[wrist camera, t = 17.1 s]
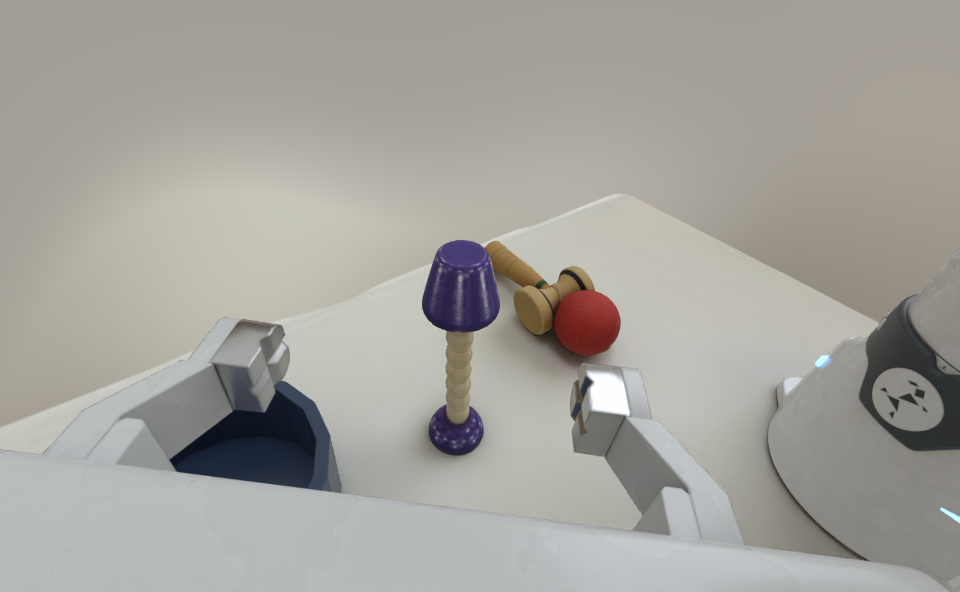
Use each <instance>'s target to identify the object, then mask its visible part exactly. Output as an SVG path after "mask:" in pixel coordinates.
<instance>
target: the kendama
mask: <svg viewBox="0 0 960 592" xmlns="http://www.w3.org/2000/svg"><path fill="white" fill-rule="evenodd" d="M485 249H486V250H487V252H488V254H489V256H490V259H491V263H492V267H493V269H494V270H496V271H498V272H499V273H501V274H503V275H504V276H506V277H507V278H509V279H511V280H512V281H514V282H515V283H517V284H519V285H520V286H522V287H523V288H521V289H519V290H518V291H516V292H515V295H514V305H515V309H516V312H517V314H518V316H519V318H520V320H521V321H522V323H523V324H524V325H525V327H526V328H527V329H528V330H529V331H531V332H532V333H534V334H536V335H540V334H543V333H545V332H547V331H549V330H550V329H551V328H552V326H554V329H555V333H556V335H557V338H558V339H559V341H560V342H561V343H562V345H563V346H564V347H566V348H567V349H568V350H570V351H572V352H574V353H576V354H579V355H584V356H591V355H596V354H599V353H602V352H605V351H607V350H608V349H609V348H610V346H611V345H612V344H613V343H614V342H615V340H616V338H617V336H618V334H619V330H620V323H621V321H620V316H619V312H618V310H617V308H616V306H615V305H614V303H613V302H612V301H611V300H610V299H609V298H608V297H606V296H605V295H603V294H601V293H599V292H596V291H595V288H594V285H593V282H592V281H591V279H590V277H589V276H588V275H587V273H586V272H585V271H584V270H582V269H581V268H579V267H576V266H571V267H568V268H566V269H564V270H562V272H561V273H560V276H559V279H558V281H557V283H554V284H552V285H551V286H550V285H549V284H548V283H547V282H546V281H545V280H544V279H543V278H542V277H541V276H539V275H538V274H537V273H536V272H535V271H534V270H533V269H532V268H531V267H529V266H528V265H527V264H526V263H525V262H523V261H522V260H521V259H519V258H518V257H517V256H516V255H514V254H513V253H512V252H511V251H509V250H508V249H507V248H506V247H505V246H504V245H502V244H501V243H500V242H497V241H494V242H491V243H489V244H488V245H487V246H486V247H485Z"/></svg>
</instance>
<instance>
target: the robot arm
mask: <svg viewBox="0 0 960 592" xmlns="http://www.w3.org/2000/svg"><path fill="white" fill-rule="evenodd" d="M878 325H879V326H878V327H877V328H876V329H875V330H874V331H873V332H872V333H871V334H870V336H869V337H858V338H853V337H850V338H847V339H845V340H843V341H842V342H841V343H840V344H839V345H838V346H837V347H836V348H834V349H833V350H832V351H831V352H830V353H829V354H828V355H827V356H821V357H820V358H819V360H818V361H817V362H816V363H815V364H816V365H817V366H816V367H815V368H814V369H813V370H812V371H811V372H810V373H809V374H808V375H807V376H805V377H804V378H785V379H784V380H783V381H782V382H781V383H780V384H779V385H778V386H777V400H778V405H779V406H778V409H777V412H776V413H775V415H774V417H773V418H772V420H771V422H770V425H769V429H768V445H769V450H770V454H771V457H772V460H773V462H774V465H775V467H776V469H777V471H778V473H779V475H780V477H781V479H782V480H783V482H784V483H785V485H786V486H787V488H788V489H789V491H790V492H791V494H792V495H793V496H794V497H795V499H796V500H797V501H798V502H799V504H800V505H801V506H802V507H803V508H804V509H805V510H806V511H807V513H808V514H809V515H810V516H811V517H812V518H813V519H814V520H815V521H816V522H818V523H819V524H820V525H821V526H822V527H823V528H824V529H825V530H826V531H828V532H829V533H830V534H831V535H832V536H834V537H835V538H836V539H837V540H839V541H840V542H841V543H843V544H844V545H845V546H847V547H848V548H850V549H851V550H853V551H854V552H856V553H857V554H859V555H860V556H862V557H864V558H865V559H867V560H869V561H864V560H856V559H849V558H841V557H833V556H825V555H817V554H810V553H802V552H794V551H786V550H778V549H771V548H763V547H755V546H747V545H745V543H744V540H743V537H742V534H741V531H740V528H739V525H738V522H737V519H736V516H735V514H734V511H733V508H732V505H731V502H730V499H729V496H728V493H727V492H726V491H725V490H724V489H723V488H722V487H721V486H720V485H719V484H718V483H717V482H716V481H715V480H714V479H713V478H712V476H711V475H710V474H709V473H708V472H707V471H706V470H705V469H704V468H703V467H702V466H701V465H700V464H699V463H698V462H697V461H696V460H695V459H694V457H693V456H692V455H691V454H690V453H689V452H688V451H687V450H686V449H685V448H684V447H683V446H682V445H681V444H680V443H679V442H678V441H677V440H676V438H675V437H674V436H673V435H672V434H671V433H670V432H669V431H668V430H667V429H666V428H665V427H664V426H663V425H662V424H661V423H660V422H659V421H658V420H653V418H652V414H651V410H650V406H649V402H648V399H647V395H646V391H645V387H644V383H643V379H642V375H641V372H640V371H639V369H634V368H625V367H618V366H609V365H600V364H592V363H583V362H582V364H581V365H580V367H579V370H578V377H579V380H577V381H576V382H574V385H573V388H572V392H571V399H570V413H571V417H572V418H573V420H574V421H575V423H574V426H573V429H572V437H573V448H574V452H576V453H583V454H589V455H596V456H602V457H605V459H606V461H607V462H608V464H609V465H610V467H611V468H612V470H613V471H614V473H615V474H616V476H617V477H618V479H619V480H620V482H621V483H622V485H623V486H624V488H625V490H626V491H627V493H628V494H629V496H630V497H631V499H632V500H633V502H634V503H635V505H636V506H637V508H638V509H639V511H640V512H641V514H642V515H643V517H642V518H641V520H640V521H639V522H638V524H637V525H636V527H635V528H634V529H633V531H631V530H623V529H615V528H608V527H600V526H592V525H584V524H577V523H569V522H561V521H553V520H546V519H538V518H530V517H522V516H515V515H507V514H499V513H491V512H483V511H476V510H468V509H460V508H452V507H445V506H437V505H429V504H421V503H414V502H406V501H398V500H390V499H382V498H374V497H367V496H359V495H351V494H343V493H335V492H328V491H320V490H312V489H304V488H297V487H289V486H281V485H273V484H266V483H258V482H250V481H242V480H235V479H227V478H219V477H211V476H204V475H196V474H188V473H180V472H177V471H176V470H175V468H174V466H173V465H172V463H171V462H170V460H169V459H171V458H172V457H173V456H175V455H176V454H177V453H179V452H180V451H181V450H183V449H184V448H185V447H186V446H188V445H189V444H190V443H192V442H193V441H194V440H196V439H197V438H198V437H200V436H201V435H202V434H204V433H205V432H206V431H207V430H209V429H210V428H211V427H213V426H214V425H215V424H217V423H218V422H219V421H221V420H222V419H223V418H225V417H226V416H227V415H229V414H230V413H231V412H232V411H233V410H232V409H234V410H244V411H254V412H264V413H265V411H266V409H267V407H268V405H269V404H270V402H271V400H272V398H273V396H274V395H275V393H276V392H275V389H274V385H275V384H276V383H278V382H279V381H281V380H283V378H284V376H285V374H286V372H287V369H288V365H289V361H290V352H289V348H288V346H287V345H286V344H285V343H284V342H283V341H282V339H283V338H284V336H285V333H284V329H283V326H281V325H278V324H272V323H265V322H258V321H252V320H245V319H236V318H230V317H223V318H222V319H220V320H219V321H218V322H217V323H216V324H215V326H214V327H213V328H212V329H211V331H210V332H209V333H208V335H207V336H206V337H205V338H204V339H203V341H202V342H201V343H200V345H199V346H198V347H197V348H196V350H195V351H194V352H193V353H192V355H191V356H190V357H189V358H188V360H180V361H178V362H176V363H174V364H172V365H170V366H168V367H166V368H164V369H162V370H160V371H158V372H156V373H155V374H153V375H151V376H149V377H147V378H145V379H143V380H141V381H139V382H137V383H135V384H133V385H131V386H129V387H127V388H125V389H123V390H121V391H119V392H117V393H115V394H113V395H111V396H109V397H107V398H105V399H104V400H102V401H100V402H98V403H96V404H94V405H92V406H90V407H88V408H86V409H84V410H82V411H81V413H80V414H79V415H78V416H77V417H76V418H75V419H74V420H73V421H72V422H71V423H70V424H69V426H68V427H67V428H66V429H65V430H64V431H63V432H62V433H61V434H60V435H59V436H58V437H57V439H56V440H55V441H54V442H53V443H52V444H51V445H50V446H49V447H48V448H47V449H46V450H45V451H44V453H43V454H34V453H26V452H18V451H11V450H3V449H0V592H960V247H959V248H958V250H957V251H956V252H955V254H954V255H953V256H952V257H951V258H950V259H949V261H948V262H947V263H946V264H945V265H944V267H943V268H942V269H941V270H940V271H939V272H938V274H937V275H936V276H935V277H934V278H933V279H932V281H931V282H930V283H929V284H928V285H927V286H926V287H925V288H924V289H923V290H922V291H921V293H920V294H916V295H912V296H910V297H907V298H906V299H904V300H903V301H902V302H901V303H900V304H899V305H898V306H897V307H896V308H894V309H893V310H891V311H889V312H888V313H887V314H886V316H885V317H884V318H883V319H882V320H881V321H880V322H879V324H878Z"/></svg>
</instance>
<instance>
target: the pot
mask: <svg viewBox="0 0 960 592" xmlns="http://www.w3.org/2000/svg"><path fill="white" fill-rule="evenodd" d="M274 389H275V392H276V393H275V395H274V396H273V398H272V400H271V402H270V404H269V405H268V407H267V409H266V411H265V413H264V412H254V411H244V410H234V409H232V410H233V411H232V412H231V413H230V414H229V415H227V416H226V417H225V418H223V419H222V420H221V421H219V422H218V423H217V424H215V425H214V426H213V427H211V428H210V429H209V430H207V431H206V432H205V433H204V434H202V435H201V436H200V437H198V438H197V439H196V440H194V441H193V442H192V443H190V444H189V445H188V446H186V447H185V448H184V449H183V450H181V451H180V452H179V453H177V454H176V455H175V456H173V457H172V458H171V459H169V460H170V462H171V463H172V465H173V466H174V468H175V470H176V471H177V472H180V473H188V474H196V475H204V476H211V477H219V478H227V479H235V480H242V481H250V482H258V483H266V484H273V485H281V486H289V487H297V488H304V489H312V490H320V491H328V492H335V493H341V483H340V479H339V474H338V469H337V465H336V460H335V456H334V451H333V447H332V442H331V437H330V434H329V432H328V429H327V427H326V425H325V423H324V421H323V419H322V417H321V414H320V412H319V410H318V408H317V406H316V404H315V402H313V401H312V400H311V399H309V398H308V397H306V396H305V395H304V394H302V393H301V392H299V391H298V390H297V389H295V388H294V387H293V386H291V385H290V384H288V383H287V382H285V381H279V382H278V383H276V384H275V385H274Z"/></svg>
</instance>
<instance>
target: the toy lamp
mask: <svg viewBox="0 0 960 592" xmlns="http://www.w3.org/2000/svg"><path fill="white" fill-rule="evenodd" d="M422 308H423V312H424V314H425V316H426V317H427V319H428V320H429V321H430V322H431V323H432V324H433V325H435V326H436V327H438V328H441V329H443V330H446V331H447V332H446V340H447V343H448V345H447V349H446V357H447V360H448V361H447V363H446V374H447V378H446V388H447V393H446V400H447V405H444V406H443V407H441V408H439V409H438V410H437V411H436V413H435V414H434V415H433V417H432V419H431V421H430V425H429V436H430V439H431V441H432V443H433V444H434V445H435V446H436V447H437V448H438V449H440V450H441V451H443V452H445V453H448V454H453V455H460V454H465V453H468V452H470V451H472V450H473V449H474V448H476V446H478V444H479V443H480V441H481V439H482V437H483V423H482V420H481V418H480V416H479V414H478V413H477V412H476V411H475V409H473V408H472V407H470V406H469V405H468V404H469V401H470V393H469V390H470V387H471V380H470V375H471V370H472V368H471V363H470V361H471V358H472V348H471V345H472V342H473V332H474V331H478V330H480V329H482V328H484V327H487V326H488V325H490V324H491V323H492V322H493V321H494V320H495V318H496V317H497V315H498V312H499V308H500V300H499V295H498V290H497V285H496V280H495V276H494V272H493V267H492V263H491V259H490V256H489V254H488V252H487V250H486V249H485V248H484V247H483V246H481V245H480V244H477V243H475V242H472V241H467V240H456V241H451V242H449V243H446V244H444V245H443V246H441V247H440V249H439V250H438V251H437V253H436V255H435V258H434V261H433V264H432V267H431V270H430V273H429V277H428V280H427V284H426V287H425V291H424V294H423V299H422Z"/></svg>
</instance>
